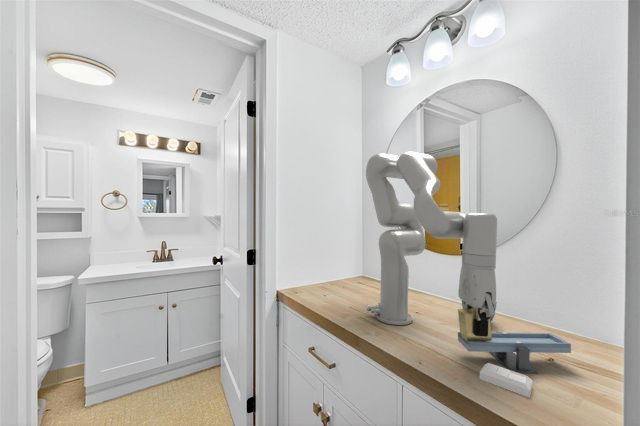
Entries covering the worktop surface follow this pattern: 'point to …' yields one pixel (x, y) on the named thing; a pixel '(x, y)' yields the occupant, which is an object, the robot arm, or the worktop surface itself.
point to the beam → (519, 343)
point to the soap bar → (507, 379)
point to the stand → (516, 360)
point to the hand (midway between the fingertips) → (475, 331)
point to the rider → (471, 325)
